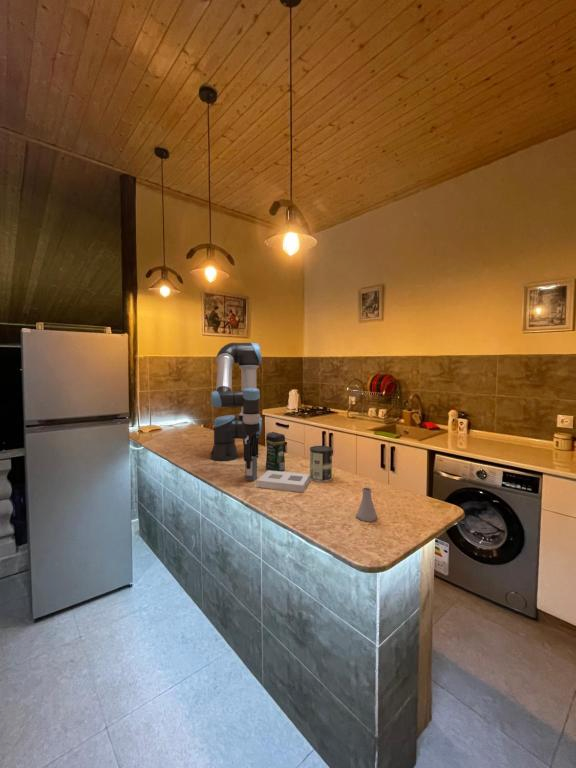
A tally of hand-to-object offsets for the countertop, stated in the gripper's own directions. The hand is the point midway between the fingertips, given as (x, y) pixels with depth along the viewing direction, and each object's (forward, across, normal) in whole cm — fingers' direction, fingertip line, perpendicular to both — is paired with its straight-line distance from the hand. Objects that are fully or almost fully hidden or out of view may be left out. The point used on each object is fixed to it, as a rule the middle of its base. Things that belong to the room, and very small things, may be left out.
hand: (251, 473), depth 149 cm
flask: (+3, -23, -52) cm, 57 cm away
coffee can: (+3, +11, -30) cm, 32 cm away
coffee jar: (+3, +17, -6) cm, 18 cm away
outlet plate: (+3, -1, -16) cm, 16 cm away
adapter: (+3, 0, 0) cm, 3 cm away
